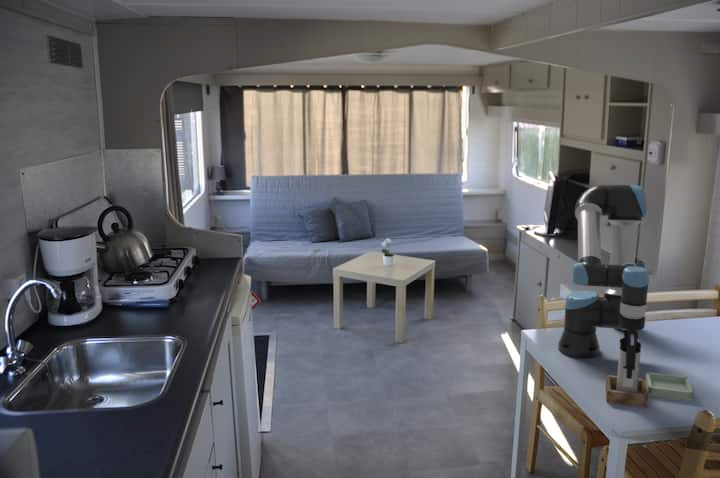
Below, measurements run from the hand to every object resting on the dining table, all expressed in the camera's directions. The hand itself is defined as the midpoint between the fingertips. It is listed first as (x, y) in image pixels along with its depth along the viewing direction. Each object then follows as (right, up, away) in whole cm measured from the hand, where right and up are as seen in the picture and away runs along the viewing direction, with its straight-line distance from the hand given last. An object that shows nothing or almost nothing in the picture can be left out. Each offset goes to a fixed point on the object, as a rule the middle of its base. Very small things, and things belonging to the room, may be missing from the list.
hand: (627, 380), depth 198 cm
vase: (+24, +8, +58) cm, 63 cm away
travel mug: (0, -6, +1) cm, 6 cm away
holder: (0, -6, +1) cm, 6 cm away
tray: (+16, -4, +5) cm, 17 cm away
